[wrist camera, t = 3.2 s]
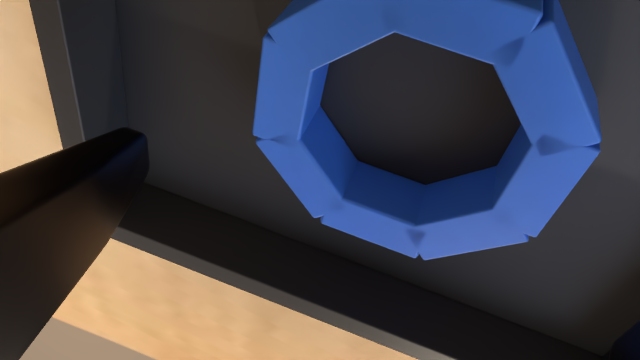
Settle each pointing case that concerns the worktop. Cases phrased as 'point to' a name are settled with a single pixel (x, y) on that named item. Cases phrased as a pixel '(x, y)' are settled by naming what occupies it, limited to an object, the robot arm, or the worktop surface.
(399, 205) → the ring
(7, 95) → the worktop surface
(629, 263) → the tray
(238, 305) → the worktop surface
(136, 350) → the worktop surface
